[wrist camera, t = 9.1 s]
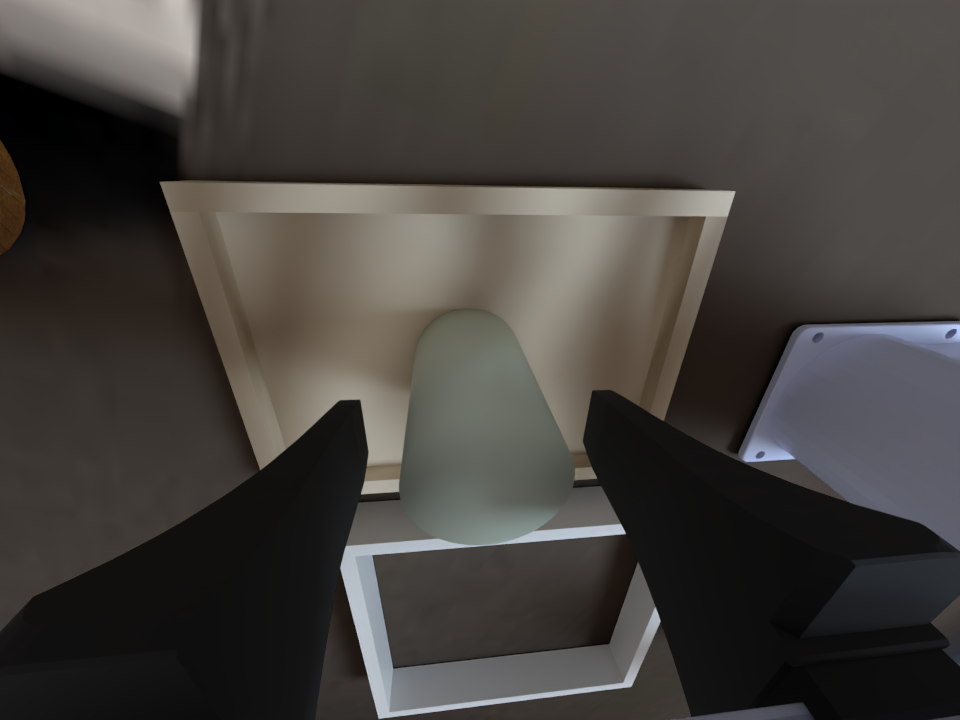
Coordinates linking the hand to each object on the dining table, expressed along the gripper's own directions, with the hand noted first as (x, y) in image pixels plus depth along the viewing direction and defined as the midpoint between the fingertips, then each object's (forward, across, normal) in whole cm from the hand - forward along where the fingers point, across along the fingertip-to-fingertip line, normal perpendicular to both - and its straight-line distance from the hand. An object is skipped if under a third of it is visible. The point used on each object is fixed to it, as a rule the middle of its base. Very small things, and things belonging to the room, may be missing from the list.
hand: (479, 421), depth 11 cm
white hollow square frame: (+5, -3, +18) cm, 19 cm away
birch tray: (+5, 0, 0) cm, 5 cm away
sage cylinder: (+4, 0, 0) cm, 4 cm away
